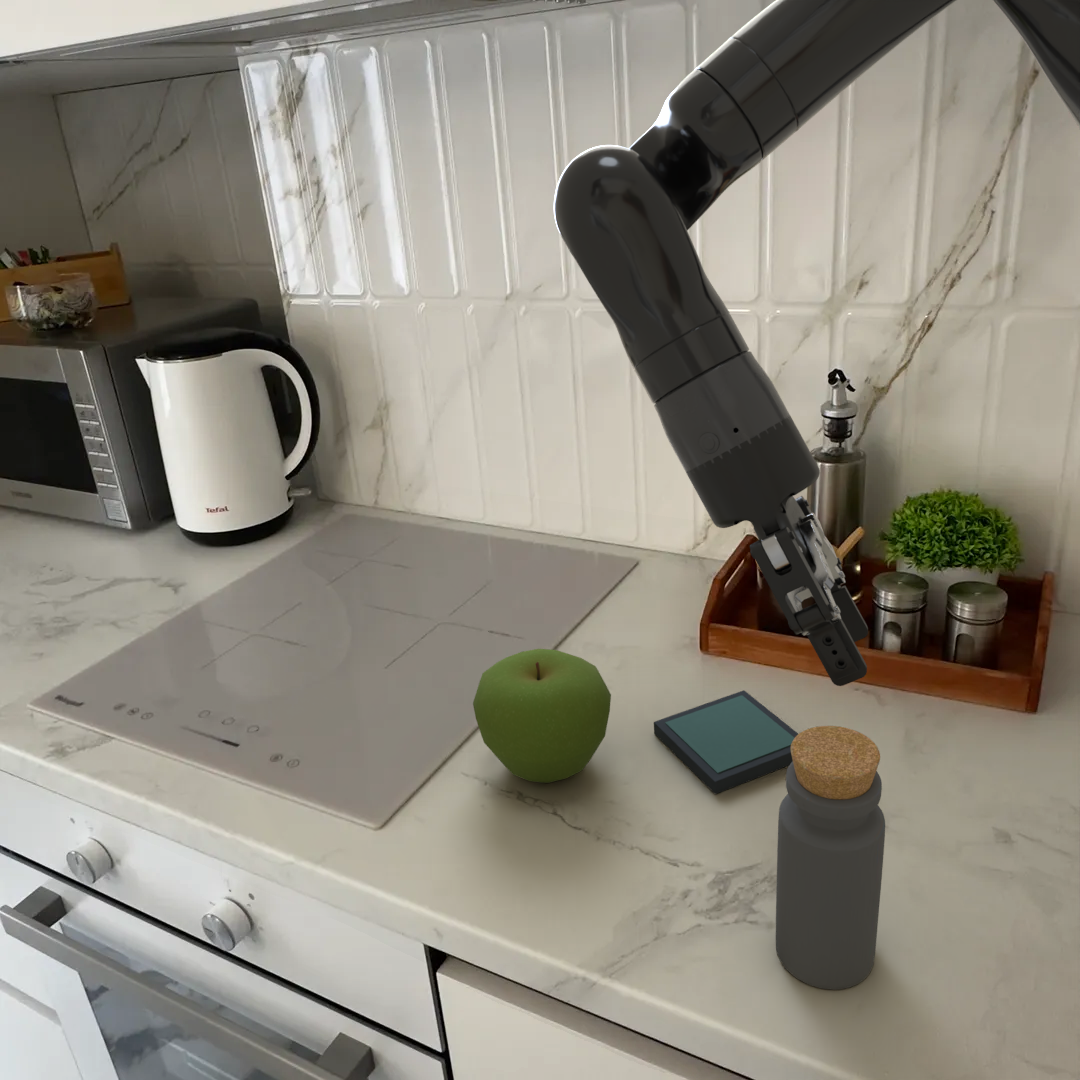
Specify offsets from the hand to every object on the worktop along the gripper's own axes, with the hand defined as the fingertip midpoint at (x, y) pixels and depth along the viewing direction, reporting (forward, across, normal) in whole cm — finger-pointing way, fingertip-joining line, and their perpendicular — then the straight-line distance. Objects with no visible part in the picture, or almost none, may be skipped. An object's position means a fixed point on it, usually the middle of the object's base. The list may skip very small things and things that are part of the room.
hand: (854, 658), depth 63 cm
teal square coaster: (+6, +11, +14) cm, 19 cm away
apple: (0, +6, +26) cm, 27 cm away
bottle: (+14, -8, +9) cm, 18 cm away
